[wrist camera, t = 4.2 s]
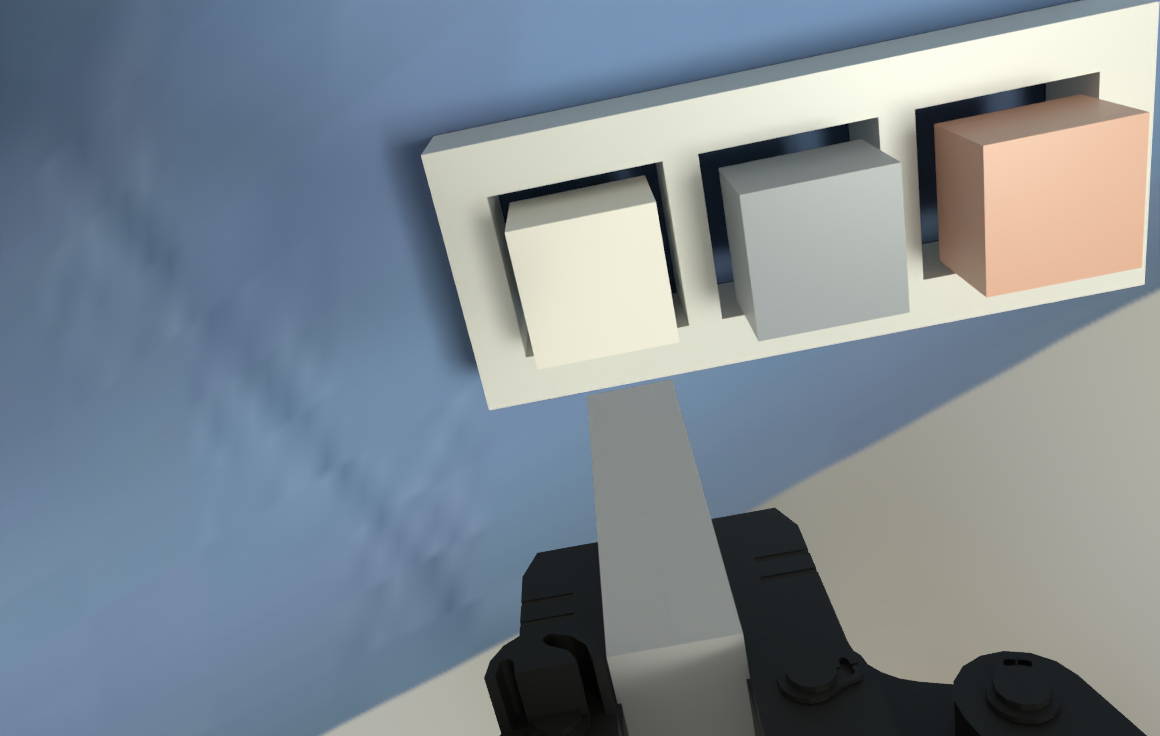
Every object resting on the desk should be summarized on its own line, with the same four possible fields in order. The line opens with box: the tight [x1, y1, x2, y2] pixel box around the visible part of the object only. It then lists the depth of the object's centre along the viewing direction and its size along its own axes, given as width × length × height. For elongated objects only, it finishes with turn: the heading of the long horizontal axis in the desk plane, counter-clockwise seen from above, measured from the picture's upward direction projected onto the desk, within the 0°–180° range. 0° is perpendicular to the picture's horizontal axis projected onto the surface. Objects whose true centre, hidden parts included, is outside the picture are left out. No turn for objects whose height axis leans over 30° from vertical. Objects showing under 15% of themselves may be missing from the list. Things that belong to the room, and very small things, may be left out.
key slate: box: [718, 139, 910, 341], centre depth 25 cm, size 4×4×3 cm
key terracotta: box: [934, 94, 1150, 298], centre depth 25 cm, size 4×4×3 cm
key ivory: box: [505, 175, 679, 370], centre depth 26 cm, size 4×4×3 cm
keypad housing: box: [421, 0, 1159, 410], centre depth 28 cm, size 20×8×3 cm, turn 101°
